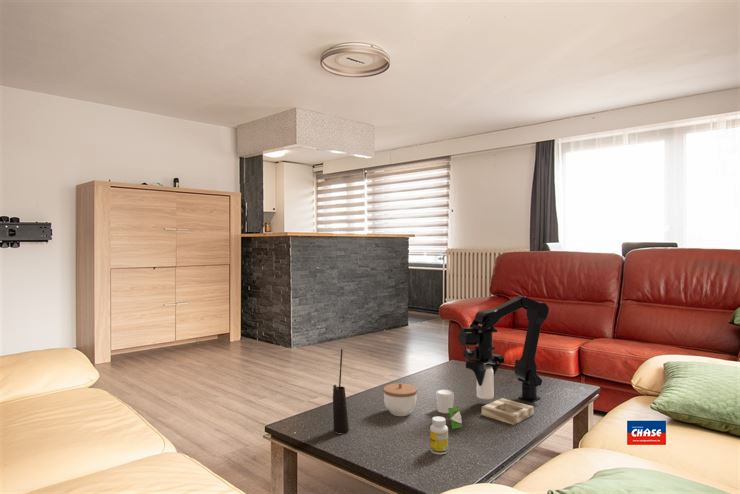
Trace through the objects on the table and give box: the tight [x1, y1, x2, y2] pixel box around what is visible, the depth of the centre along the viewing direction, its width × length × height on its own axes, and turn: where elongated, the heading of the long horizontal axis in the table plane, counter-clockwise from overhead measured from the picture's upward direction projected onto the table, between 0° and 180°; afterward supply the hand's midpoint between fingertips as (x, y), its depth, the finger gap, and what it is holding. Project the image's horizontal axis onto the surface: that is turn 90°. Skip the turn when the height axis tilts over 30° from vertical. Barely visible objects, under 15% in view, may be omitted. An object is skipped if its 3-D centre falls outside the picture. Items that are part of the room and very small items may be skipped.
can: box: [476, 365, 495, 401], centre depth 180 cm, size 6×6×12 cm
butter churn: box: [332, 348, 350, 434], centre depth 155 cm, size 9×10×28 cm
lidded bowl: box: [382, 382, 418, 417], centre depth 171 cm, size 13×13×11 cm
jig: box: [481, 397, 535, 426], centre depth 169 cm, size 14×13×3 cm
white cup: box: [435, 389, 455, 414], centre depth 173 cm, size 7×7×7 cm
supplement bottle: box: [429, 415, 449, 455], centre depth 139 cm, size 5×5×10 cm
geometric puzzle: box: [446, 406, 466, 430], centre depth 158 cm, size 7×7×8 cm
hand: (485, 383), depth 180 cm, fingers closed on can, 6 cm apart
